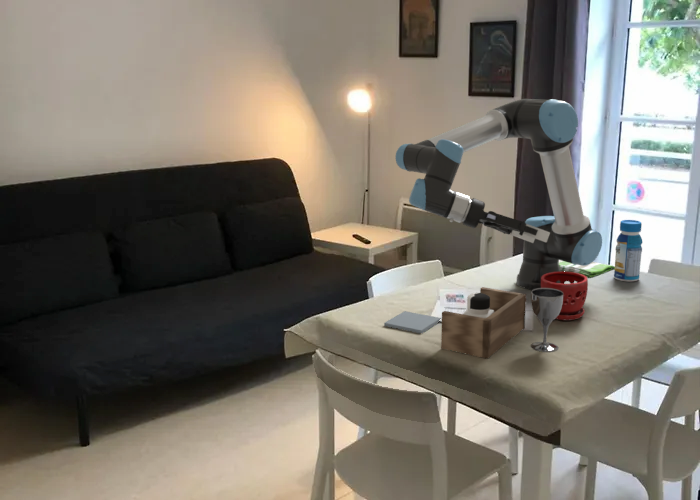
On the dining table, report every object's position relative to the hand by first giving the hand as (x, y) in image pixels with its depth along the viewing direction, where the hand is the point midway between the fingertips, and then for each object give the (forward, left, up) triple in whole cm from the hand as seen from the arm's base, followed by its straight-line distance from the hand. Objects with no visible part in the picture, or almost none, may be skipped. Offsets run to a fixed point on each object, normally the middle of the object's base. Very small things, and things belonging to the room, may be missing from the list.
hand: (541, 238), depth 197 cm
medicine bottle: (-6, -16, -27) cm, 32 cm away
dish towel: (-44, +58, -28) cm, 78 cm away
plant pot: (-7, +16, -27) cm, 33 cm away
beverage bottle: (-24, +62, -27) cm, 72 cm away
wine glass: (+9, -5, -27) cm, 29 cm away
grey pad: (-24, -25, -27) cm, 44 cm away
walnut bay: (-4, -15, -27) cm, 31 cm away
